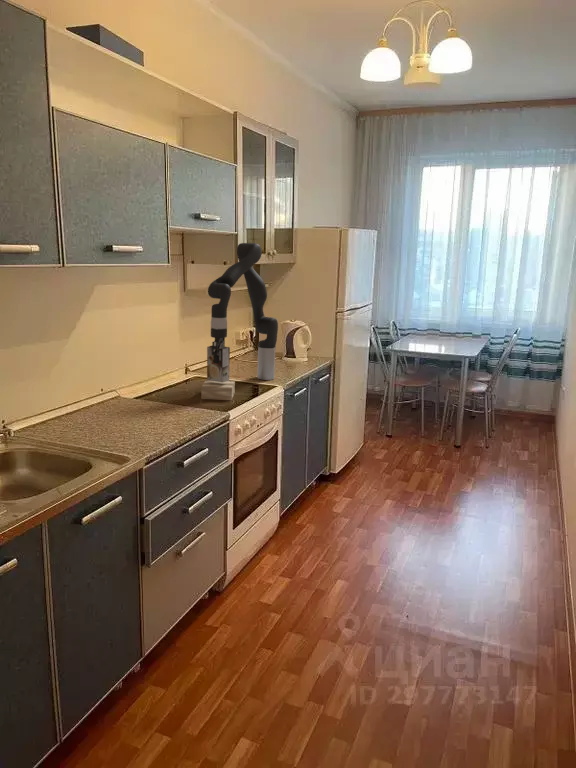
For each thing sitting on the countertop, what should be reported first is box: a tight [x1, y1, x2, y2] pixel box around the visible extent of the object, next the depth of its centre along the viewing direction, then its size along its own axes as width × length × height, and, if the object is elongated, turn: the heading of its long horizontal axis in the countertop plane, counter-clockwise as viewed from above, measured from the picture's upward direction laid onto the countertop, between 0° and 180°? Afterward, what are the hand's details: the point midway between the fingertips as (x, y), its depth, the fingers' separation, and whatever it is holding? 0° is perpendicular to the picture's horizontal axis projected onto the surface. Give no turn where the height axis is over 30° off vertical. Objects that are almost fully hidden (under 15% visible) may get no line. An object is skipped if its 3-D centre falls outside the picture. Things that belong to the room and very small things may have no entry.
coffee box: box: [206, 345, 231, 383], centre depth 266 cm, size 9×6×16 cm
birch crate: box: [200, 379, 236, 401], centre depth 268 cm, size 14×14×6 cm
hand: (218, 361), depth 265 cm, fingers closed on coffee box, 7 cm apart
